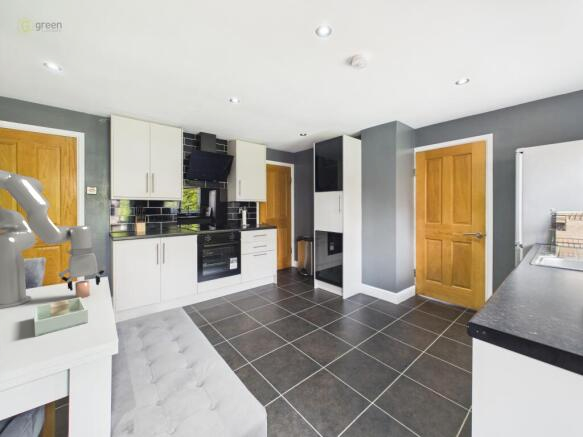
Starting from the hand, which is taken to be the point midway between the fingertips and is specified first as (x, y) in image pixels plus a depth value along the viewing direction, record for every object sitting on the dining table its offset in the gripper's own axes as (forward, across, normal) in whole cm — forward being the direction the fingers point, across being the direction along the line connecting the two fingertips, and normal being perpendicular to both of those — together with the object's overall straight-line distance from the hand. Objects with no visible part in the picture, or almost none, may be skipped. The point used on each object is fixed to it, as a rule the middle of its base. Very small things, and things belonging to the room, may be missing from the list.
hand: (84, 287), depth 116 cm
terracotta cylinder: (+4, -1, 0) cm, 5 cm away
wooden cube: (+4, -10, -22) cm, 24 cm away
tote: (+4, -10, -26) cm, 28 cm away
